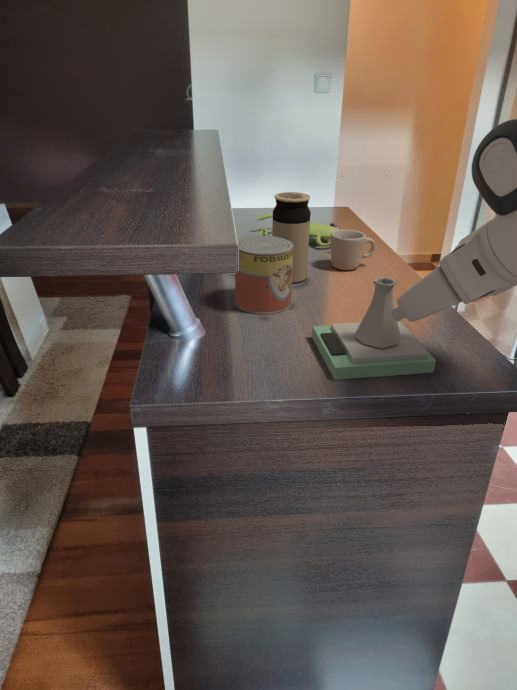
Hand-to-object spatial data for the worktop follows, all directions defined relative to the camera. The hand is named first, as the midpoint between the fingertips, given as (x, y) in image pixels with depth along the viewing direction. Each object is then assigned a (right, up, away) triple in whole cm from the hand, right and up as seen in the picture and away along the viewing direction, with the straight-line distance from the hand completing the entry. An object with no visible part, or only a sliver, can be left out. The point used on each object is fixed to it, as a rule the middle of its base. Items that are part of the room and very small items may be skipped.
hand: (412, 305), depth 78 cm
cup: (-1, +12, +44) cm, 46 cm away
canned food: (-22, +2, +25) cm, 34 cm away
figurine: (-12, +22, +62) cm, 67 cm away
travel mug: (-17, +9, +37) cm, 42 cm away
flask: (-4, -5, +6) cm, 8 cm away
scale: (-5, -7, +7) cm, 11 cm away
